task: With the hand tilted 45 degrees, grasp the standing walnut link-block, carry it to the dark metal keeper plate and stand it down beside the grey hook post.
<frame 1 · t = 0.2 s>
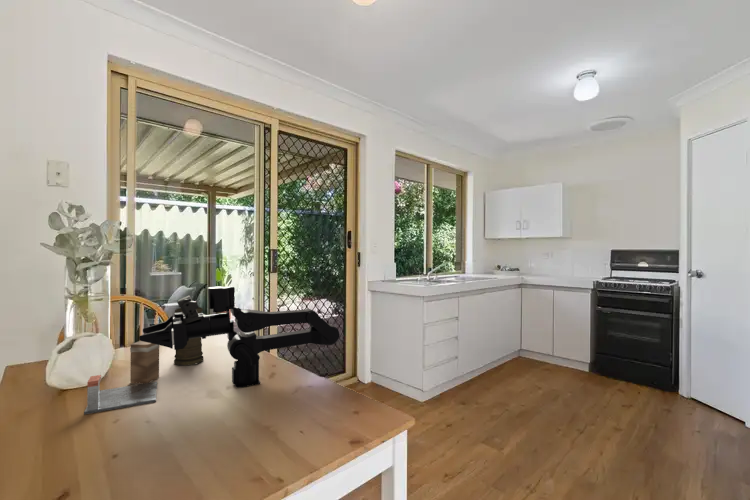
hand: (141, 334, 90), 17 cm above the table, tool horizontal, fingers open, 9 cm apart
keeper: (124, 397, 92), on the table
container: (188, 362, 121), on the table
link block: (145, 380, 104), on the table
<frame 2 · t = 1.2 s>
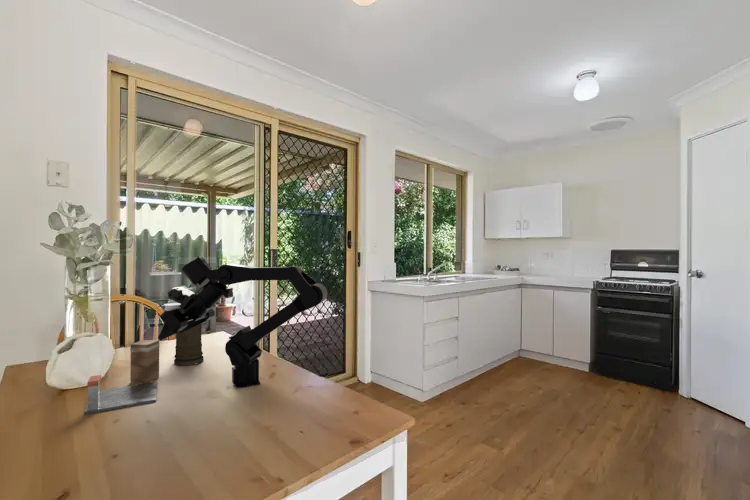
hand: (169, 335, 104), 13 cm above the table, tool tilted 45°, fingers open, 9 cm apart
nothing on the table moved.
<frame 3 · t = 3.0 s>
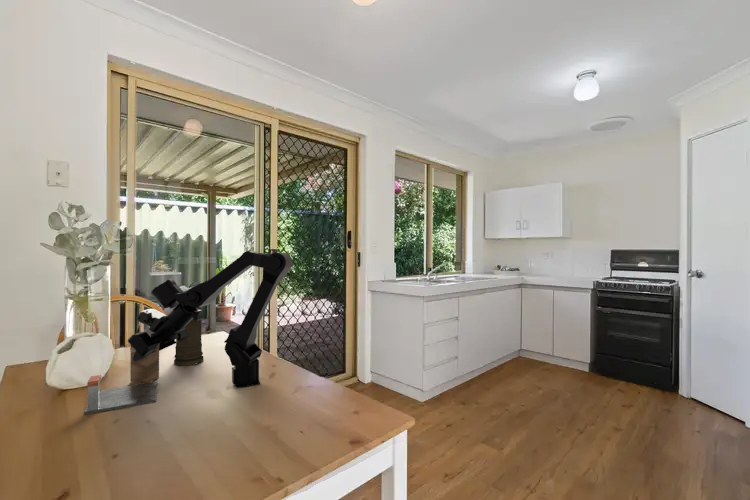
hand: (140, 357, 104), 7 cm above the table, tool tilted 45°, fingers closed on link block, 5 cm apart
link block: (145, 380, 104), on the table, touching gripper
everything else where it was.
when the fingers open (8 cm above the table, at t = 6.3 s): link block stays where it is, resting on keeper.
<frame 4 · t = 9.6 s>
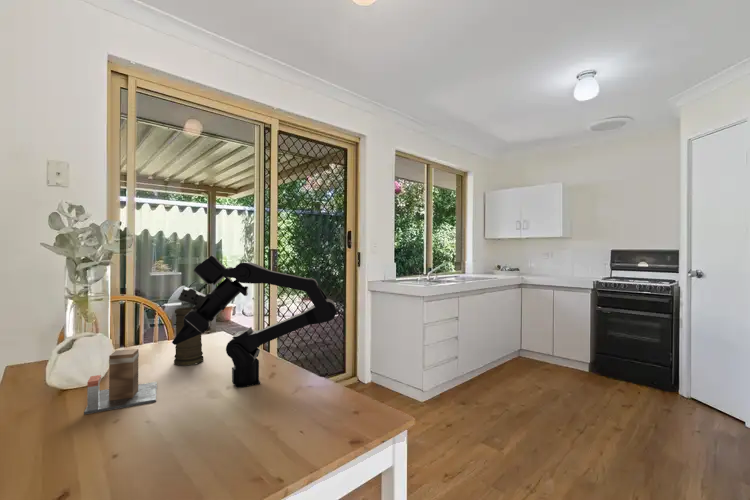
hand: (176, 339, 97), 14 cm above the table, tool tilted 45°, fingers open, 9 cm apart
link block: (124, 395, 92), point 1 cm above the table, touching keeper
everything else where it was.
at the end: link block inside the target area on the keeper (0.0 cm from its centre), point 0.6 cm above the keeper's base; link block tilted 0°; the gripper is holding nothing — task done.
